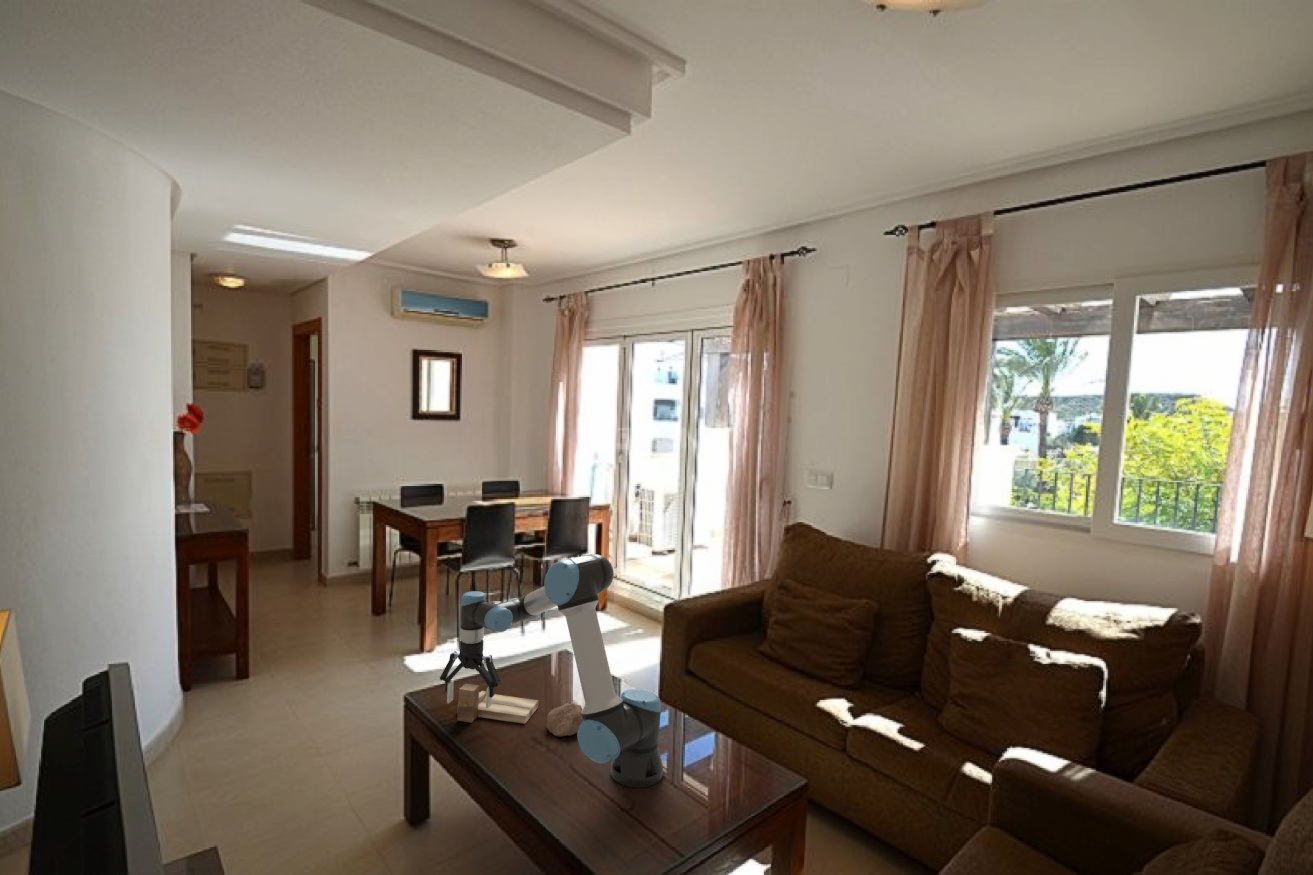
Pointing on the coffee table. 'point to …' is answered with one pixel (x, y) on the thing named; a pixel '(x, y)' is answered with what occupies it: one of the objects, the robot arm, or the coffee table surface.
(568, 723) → the stone
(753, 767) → the coffee table surface
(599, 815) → the coffee table surface
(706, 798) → the coffee table surface
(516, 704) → the board
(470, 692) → the block
